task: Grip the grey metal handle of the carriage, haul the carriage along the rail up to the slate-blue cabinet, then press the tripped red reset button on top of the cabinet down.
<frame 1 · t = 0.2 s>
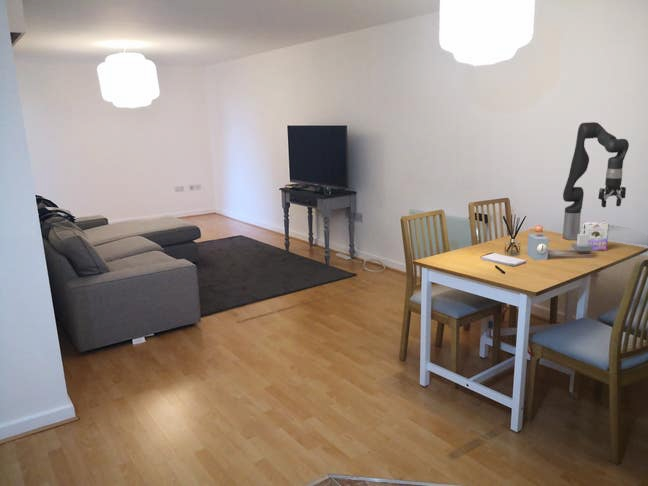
hand: (610, 206, 271), 28 cm above the table, tool pointing down, fingers open, 8 cm apart
rail track: (567, 255, 283), on the table
carriage: (582, 241, 281), point 8 cm above the table, slide at 8.0 cm
end cabinet: (536, 256, 283), on the table
candy box: (592, 249, 294), on the table
reset button: (538, 228, 280), point 16 cm above the table, slide at 2.5 cm
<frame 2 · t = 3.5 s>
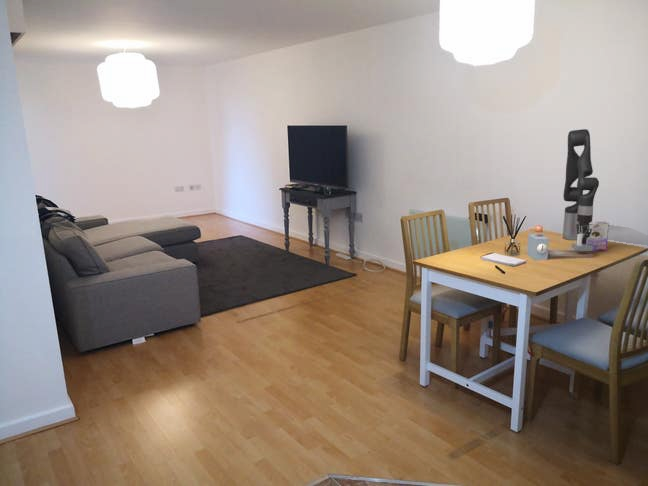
hand: (582, 243, 281), 7 cm above the table, tool pointing down, fingers closed on carriage, 2 cm apart
carriage: (582, 241, 281), point 8 cm above the table, slide at 8.0 cm, touching gripper
everything else where it was.
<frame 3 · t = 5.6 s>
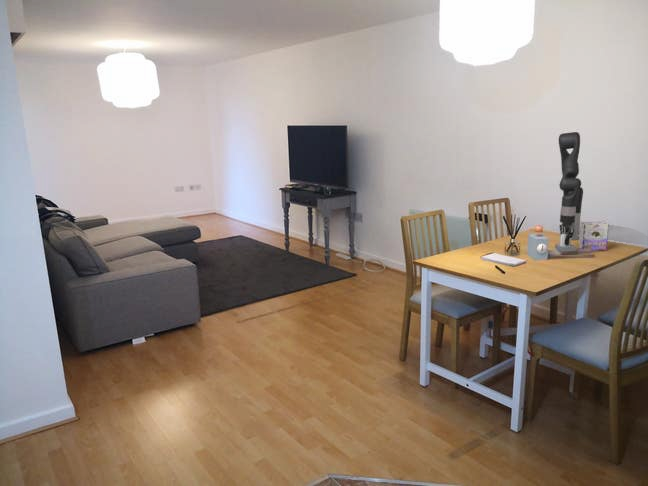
hand: (565, 243, 281), 7 cm above the table, tool pointing down, fingers closed on carriage, 2 cm apart
carriage: (565, 242, 281), point 8 cm above the table, slide at -1.5 cm, touching gripper
everything else where it was.
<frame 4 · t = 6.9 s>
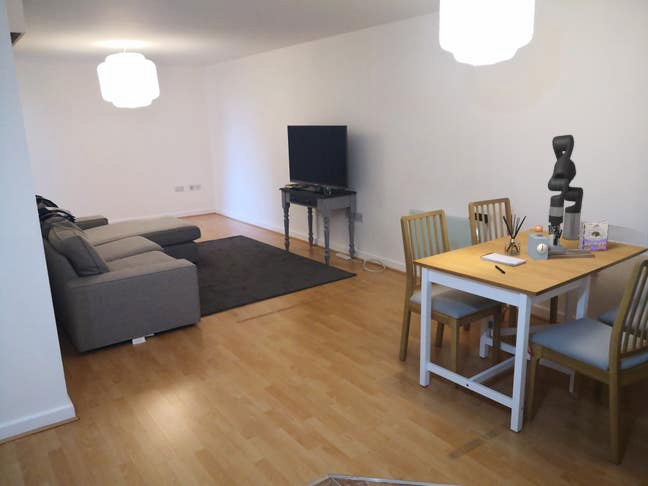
hand: (554, 244, 281), 7 cm above the table, tool pointing down, fingers closed on carriage, 2 cm apart
carriage: (554, 242, 281), point 8 cm above the table, slide at -7.8 cm, touching gripper
everything else where it was.
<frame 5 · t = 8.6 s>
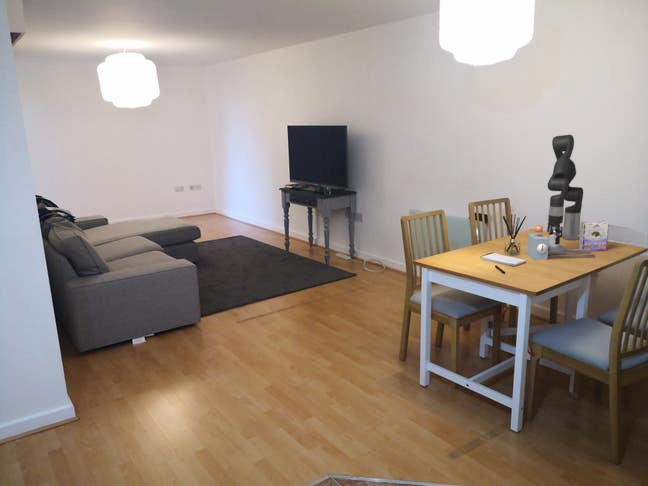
hand: (553, 242, 281), 8 cm above the table, tool pointing down, fingers open, 8 cm apart
carriage: (554, 242, 281), point 8 cm above the table, slide at -7.9 cm
everything else where it was.
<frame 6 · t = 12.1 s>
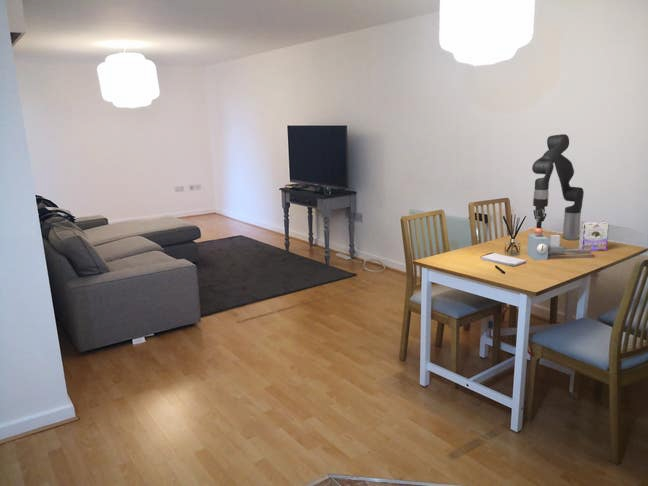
hand: (538, 228, 279), 17 cm above the table, tool pointing down, fingers closed
reset button: (538, 230, 280), point 15 cm above the table, slide at 1.5 cm, touching gripper
everything else where it was.
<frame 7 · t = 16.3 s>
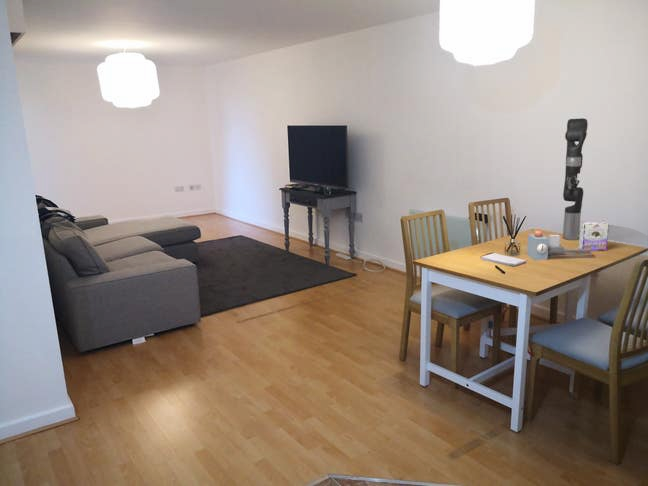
hand: (570, 195, 285), 33 cm above the table, tool pointing down, fingers closed
reset button: (538, 233, 280), point 14 cm above the table, slide at -0.1 cm
everything else where it was.
at the end: carriage slide at -7.9 cm; reset button slide at -0.1 cm; the gripper is holding nothing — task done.
